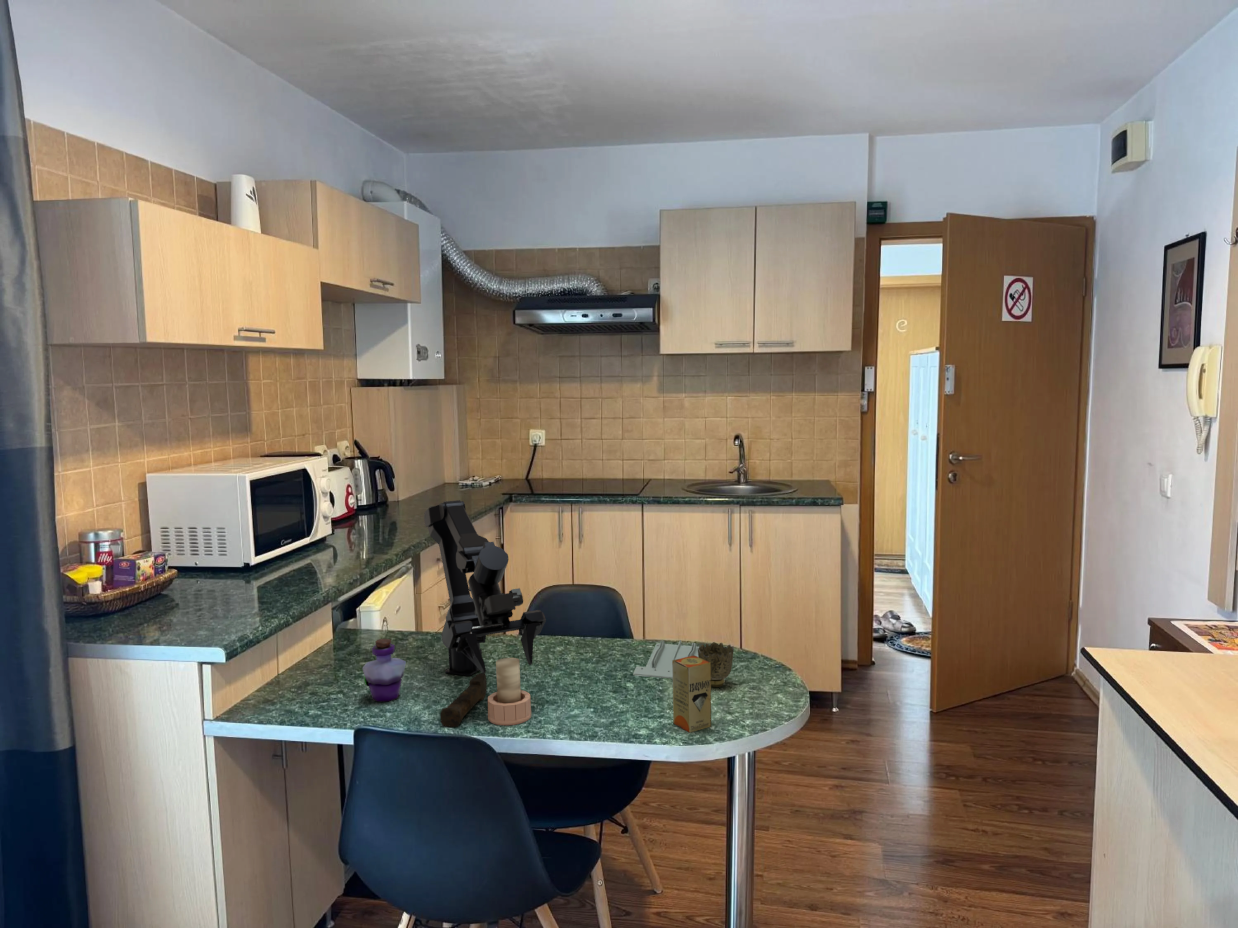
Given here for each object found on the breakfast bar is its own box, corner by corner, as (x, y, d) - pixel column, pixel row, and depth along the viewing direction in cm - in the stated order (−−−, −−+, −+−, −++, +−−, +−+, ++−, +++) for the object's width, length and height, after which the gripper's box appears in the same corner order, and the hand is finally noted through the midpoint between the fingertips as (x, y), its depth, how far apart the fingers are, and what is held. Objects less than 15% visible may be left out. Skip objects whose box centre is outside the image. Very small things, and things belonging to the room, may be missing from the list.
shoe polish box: (673, 723, 156) (672, 660, 155) (694, 717, 159) (694, 655, 158) (689, 732, 152) (688, 667, 151) (711, 726, 155) (710, 662, 153)
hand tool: (459, 729, 156) (459, 705, 156) (439, 727, 157) (439, 703, 157) (498, 692, 175) (497, 670, 174) (480, 691, 176) (479, 669, 175)
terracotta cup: (479, 722, 159) (479, 702, 158) (501, 705, 166) (500, 687, 166) (518, 727, 156) (518, 707, 155) (538, 711, 163) (538, 691, 163)
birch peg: (493, 713, 161) (491, 662, 160) (509, 706, 164) (507, 655, 163) (510, 718, 158) (508, 666, 157) (526, 710, 162) (524, 659, 161)
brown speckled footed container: (690, 685, 175) (690, 648, 174) (712, 676, 180) (711, 639, 180) (720, 694, 170) (719, 655, 169) (741, 684, 175) (740, 646, 175)
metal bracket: (648, 633, 193) (713, 638, 188) (651, 655, 195) (714, 660, 191) (630, 670, 181) (699, 677, 176) (633, 693, 183) (701, 700, 178)
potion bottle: (361, 693, 175) (358, 637, 174) (404, 686, 178) (401, 631, 177) (366, 708, 167) (363, 649, 166) (411, 700, 170) (408, 642, 169)
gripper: (448, 581, 159) (467, 655, 150) (541, 569, 167) (564, 639, 159) (439, 612, 167) (457, 684, 158) (528, 599, 175) (549, 667, 166)
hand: (508, 668), depth 160 cm, fingers open, 9 cm apart
